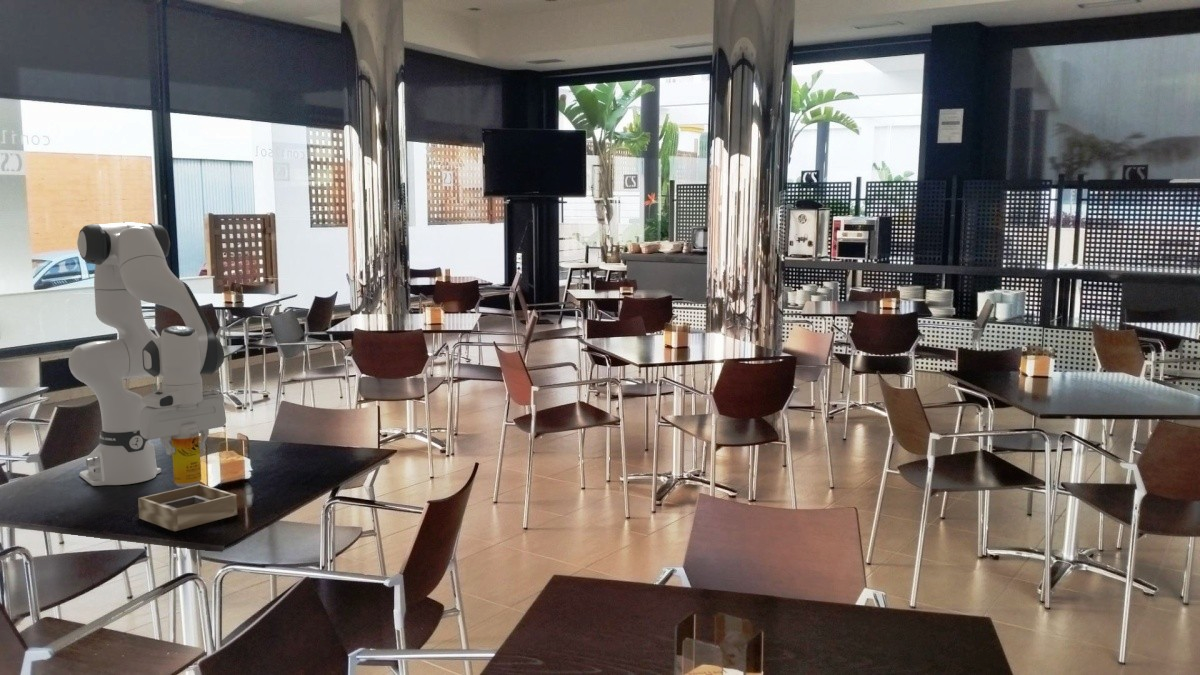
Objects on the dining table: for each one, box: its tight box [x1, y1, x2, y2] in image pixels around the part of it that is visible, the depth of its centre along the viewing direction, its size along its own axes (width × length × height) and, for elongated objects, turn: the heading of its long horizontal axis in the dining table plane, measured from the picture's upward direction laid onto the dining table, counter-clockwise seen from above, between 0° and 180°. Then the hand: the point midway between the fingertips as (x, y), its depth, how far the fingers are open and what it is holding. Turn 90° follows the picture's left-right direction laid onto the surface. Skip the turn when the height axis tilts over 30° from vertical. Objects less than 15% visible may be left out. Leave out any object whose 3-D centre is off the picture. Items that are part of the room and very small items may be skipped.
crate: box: [137, 483, 238, 532], centre depth 229 cm, size 16×16×5 cm
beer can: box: [170, 422, 202, 488], centre depth 227 cm, size 6×6×15 cm
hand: (185, 451), depth 227 cm, fingers closed on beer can, 6 cm apart
